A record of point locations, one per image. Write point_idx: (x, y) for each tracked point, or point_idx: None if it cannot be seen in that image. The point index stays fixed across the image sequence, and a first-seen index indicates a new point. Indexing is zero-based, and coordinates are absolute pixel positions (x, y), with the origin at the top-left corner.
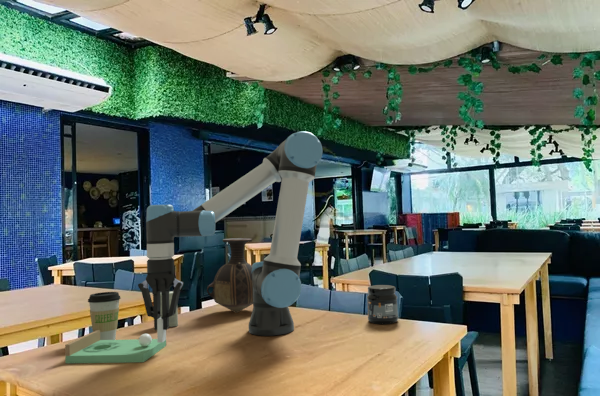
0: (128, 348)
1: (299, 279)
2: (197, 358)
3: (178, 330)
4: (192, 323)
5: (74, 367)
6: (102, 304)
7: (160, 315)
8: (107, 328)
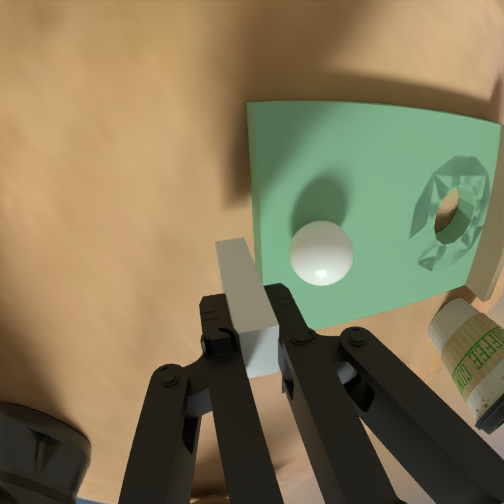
0: (371, 203)
1: None
2: (27, 190)
3: (287, 423)
4: (274, 454)
5: (462, 74)
6: None
7: (282, 378)
8: (464, 331)
